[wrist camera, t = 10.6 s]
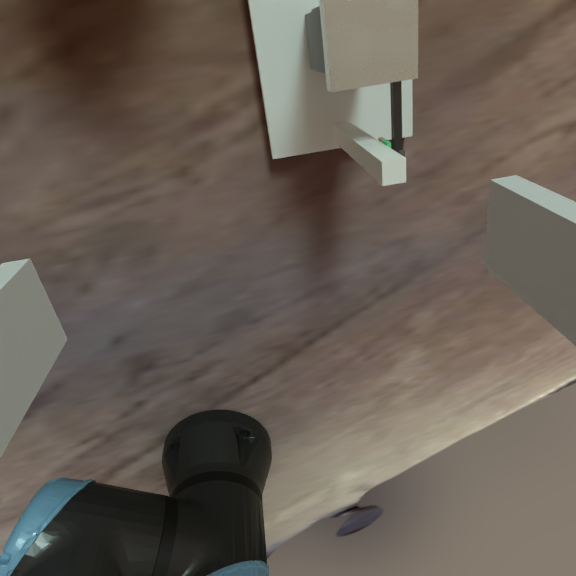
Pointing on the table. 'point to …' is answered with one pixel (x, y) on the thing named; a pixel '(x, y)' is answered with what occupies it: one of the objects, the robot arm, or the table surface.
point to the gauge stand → (320, 94)
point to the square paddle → (371, 48)
